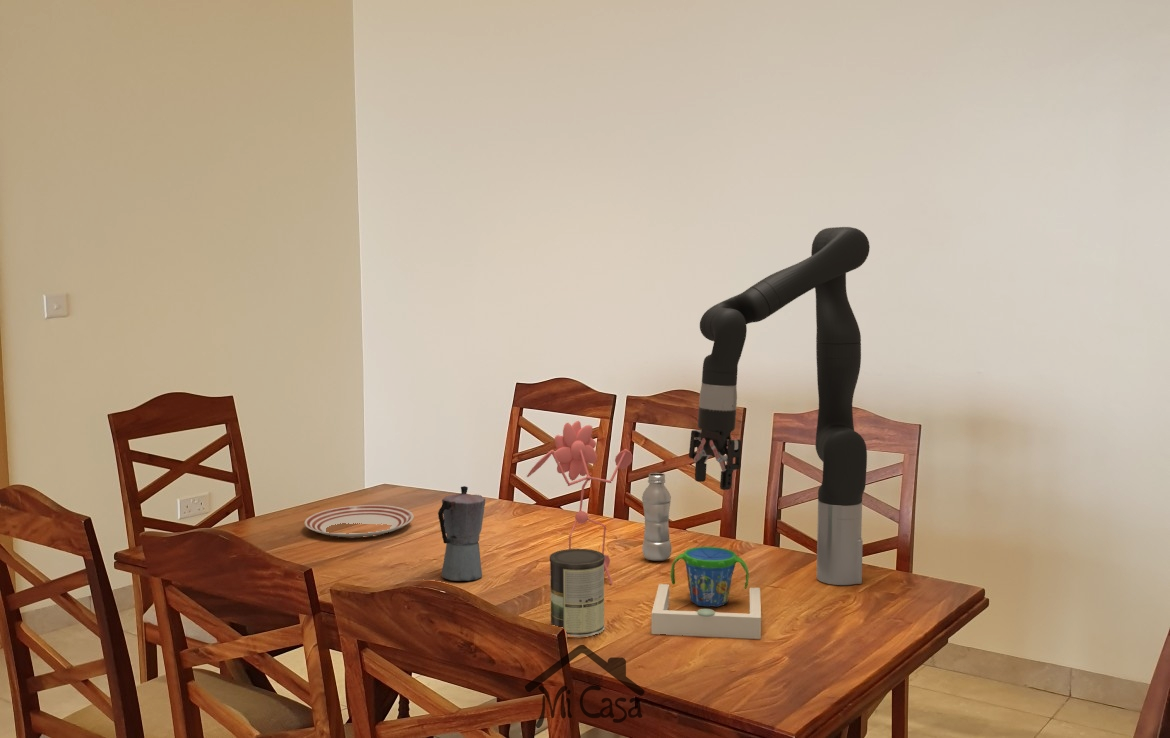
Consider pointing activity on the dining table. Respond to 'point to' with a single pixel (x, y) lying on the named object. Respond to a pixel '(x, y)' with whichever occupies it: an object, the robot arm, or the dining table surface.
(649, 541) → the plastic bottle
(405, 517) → the dinner plate
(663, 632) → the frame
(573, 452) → the figurine
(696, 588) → the snack cup
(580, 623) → the coffee can
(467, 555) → the moka pot
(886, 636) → the dining table surface
